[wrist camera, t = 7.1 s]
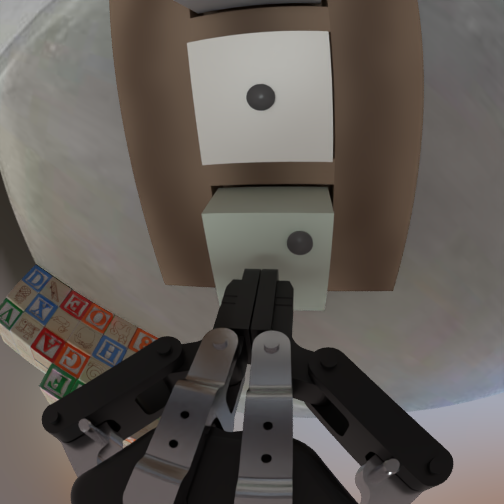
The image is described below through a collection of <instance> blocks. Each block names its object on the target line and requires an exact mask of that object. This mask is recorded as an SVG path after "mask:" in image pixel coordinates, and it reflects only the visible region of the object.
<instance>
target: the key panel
mask: <svg viewBox="0 0 504 504" xmlns="http://www.w3.org/2000/svg"><path fill="white" fill-rule="evenodd" d="M109 3H110V23H111V37H112V48H113V58H114V66H115V75H116V82H117V89H118V96H119V102H120V108H121V114H122V120H123V126H124V131H125V136H126V141H127V146H128V151H129V156H130V160H131V165H132V169H133V174H134V178H135V182H136V186H137V190H138V194H139V198H140V202H141V206H142V210H143V213H144V217H145V221H146V224H147V228H148V231H149V235H150V238H151V242H152V245H153V248H154V252H155V255H156V258H157V261H158V264H159V268H160V271H161V274H162V277H163V280H164V283H165V285H179V286H196V287H215V288H216V286H215V281H214V276H213V271H212V267H211V262H210V256H209V251H208V246H207V241H206V236H205V231H204V225H203V220H202V212H203V210H204V209H205V207H206V206H207V204H208V203H209V201H210V200H211V198H212V197H213V195H214V194H215V192H216V191H217V189H218V188H231V187H287V186H293V187H328V191H329V195H330V199H331V203H332V207H333V211H334V221H333V236H332V248H331V259H330V270H329V279H328V288H327V291H393V289H394V286H395V282H396V279H397V275H398V271H399V267H400V264H401V260H402V256H403V251H404V247H405V243H406V238H407V234H408V229H409V224H410V219H411V214H412V208H413V203H414V197H415V190H416V183H417V176H418V169H419V160H420V150H421V139H422V125H423V102H424V70H423V48H422V35H421V25H420V16H419V9H418V2H417V0H321V3H283V4H264V5H253V6H243V7H235V8H228V9H221V10H215V11H210V12H204V13H199V14H198V13H196V12H194V11H192V10H190V9H189V8H187V7H185V6H183V5H181V4H179V3H177V2H175V1H173V0H109ZM275 31H328V32H329V44H330V58H331V75H332V101H333V162H250V163H228V164H212V165H202V160H201V153H200V146H199V139H198V131H197V124H196V117H195V109H194V101H193V93H192V85H191V76H190V67H189V58H188V49H187V43H189V42H194V41H199V40H204V39H210V38H216V37H223V36H230V35H238V34H248V33H259V32H275Z"/></svg>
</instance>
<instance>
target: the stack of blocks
mask: <svg viewBox="0 0 504 504" xmlns="http://www.w3.org/2000/svg"><path fill="white" fill-rule="evenodd" d="M0 335H1V337H2V339H3V341H4V342H5V343H6V344H7V345H8V346H10V347H11V348H12V349H13V350H15V351H16V352H17V353H18V354H20V355H21V356H22V357H23V358H25V359H26V360H27V361H28V362H30V363H31V364H32V365H34V366H35V367H37V368H38V369H39V370H41V371H42V372H43V373H45V376H44V378H43V380H42V382H41V383H40V385H39V387H40V389H41V391H42V392H43V394H44V395H45V397H46V399H47V401H48V402H49V403H50V404H52V403H54V402H56V401H57V400H59V399H61V398H62V397H64V396H66V395H68V394H69V393H71V392H73V391H74V390H76V389H77V388H79V387H81V386H82V385H84V384H86V383H87V382H89V381H91V380H92V379H94V378H96V377H97V376H99V375H100V374H102V373H104V372H105V371H107V370H109V369H110V368H112V367H113V366H115V365H117V364H118V363H120V362H122V361H123V360H125V359H126V358H128V357H130V356H131V355H133V354H134V353H136V352H138V351H139V350H141V349H142V348H144V347H145V346H147V345H149V344H150V343H152V342H153V341H155V340H157V339H158V338H157V337H155V336H153V335H151V334H149V333H147V332H145V331H143V330H142V329H140V328H137V327H136V326H134V325H132V324H131V323H129V322H127V321H125V320H123V319H122V318H120V317H118V316H116V315H113V314H112V313H110V312H108V311H106V310H105V309H103V308H101V307H99V306H98V305H96V304H95V303H92V302H91V301H89V300H88V299H86V298H84V297H83V296H81V295H80V294H78V293H76V292H75V291H73V290H72V289H71V288H69V287H68V286H66V285H64V284H63V283H61V282H60V281H59V280H57V279H56V278H54V277H52V276H51V275H50V274H49V273H47V272H46V271H44V270H43V269H41V268H40V267H39V266H37V265H35V266H34V267H33V268H32V269H31V270H30V271H29V272H28V273H27V274H26V275H25V276H24V277H23V278H22V280H21V281H20V282H19V283H18V284H17V285H16V286H15V287H14V288H13V289H12V290H11V292H10V293H9V294H8V295H7V298H6V299H5V300H4V301H3V302H2V303H1V305H0ZM160 418H161V417H159V418H158V419H156V420H155V421H153V422H152V423H150V424H149V425H147V426H146V427H144V428H143V429H141V430H140V431H138V432H136V433H135V434H133V435H132V436H130V437H128V438H127V439H125V440H124V441H123V444H125V445H127V446H128V445H129V444H131V443H132V442H134V441H135V440H137V439H138V438H140V437H141V436H143V435H144V434H146V433H147V432H148V431H150V430H152V429H154V428H156V427H157V425H158V423H159V420H160Z"/></svg>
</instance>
